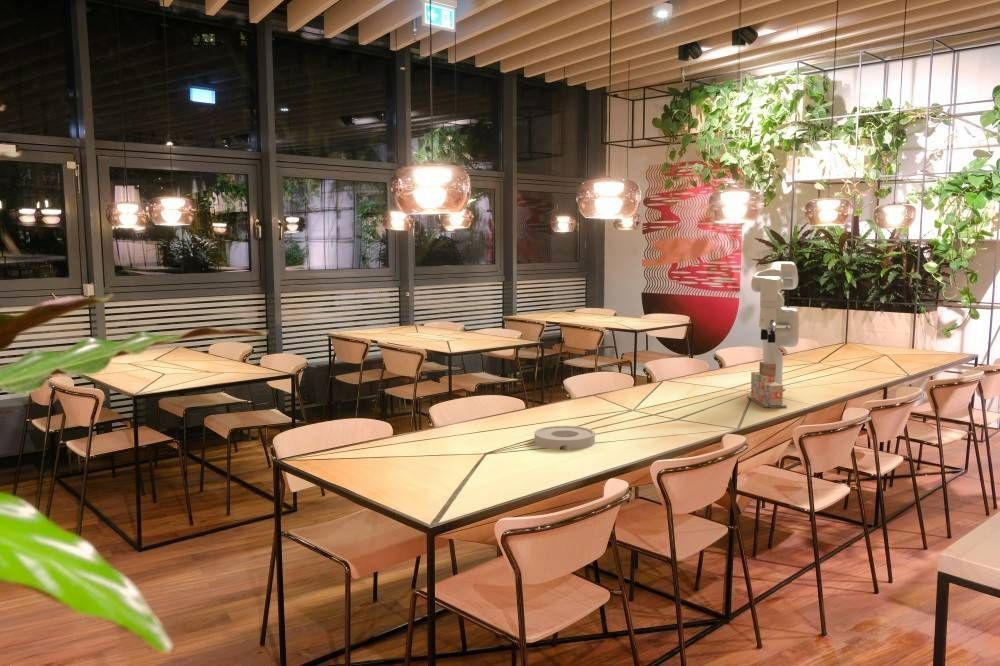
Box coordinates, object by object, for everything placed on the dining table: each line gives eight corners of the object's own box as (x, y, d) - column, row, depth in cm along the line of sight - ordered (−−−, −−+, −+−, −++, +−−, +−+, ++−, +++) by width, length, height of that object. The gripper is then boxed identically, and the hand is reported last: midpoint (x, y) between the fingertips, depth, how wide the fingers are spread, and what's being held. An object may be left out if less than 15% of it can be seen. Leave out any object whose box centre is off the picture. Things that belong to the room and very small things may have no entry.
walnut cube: (759, 373, 364) (759, 361, 364) (771, 373, 364) (771, 361, 364) (763, 375, 359) (763, 363, 358) (775, 375, 359) (775, 363, 358)
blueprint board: (747, 397, 376) (747, 395, 376) (767, 397, 376) (767, 395, 376) (764, 408, 351) (764, 405, 351) (786, 407, 351) (786, 405, 351)
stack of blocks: (782, 405, 352) (783, 378, 350) (769, 405, 351) (770, 378, 350) (763, 396, 373) (763, 371, 371) (750, 396, 372) (751, 371, 371)
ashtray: (566, 432, 312) (566, 422, 312) (607, 443, 294) (607, 433, 293) (522, 442, 298) (522, 431, 298) (562, 454, 280) (562, 443, 279)
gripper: (754, 303, 367) (753, 338, 369) (767, 306, 350) (766, 344, 352) (770, 302, 367) (769, 338, 369) (783, 306, 350) (782, 343, 352)
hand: (767, 341), depth 361 cm, fingers open, 9 cm apart
